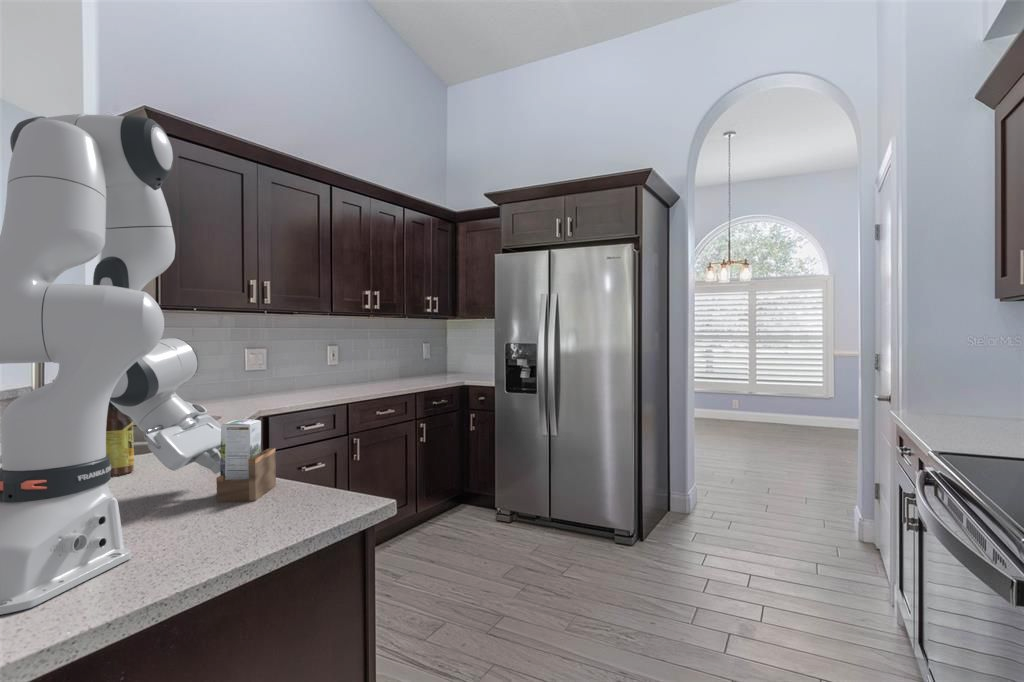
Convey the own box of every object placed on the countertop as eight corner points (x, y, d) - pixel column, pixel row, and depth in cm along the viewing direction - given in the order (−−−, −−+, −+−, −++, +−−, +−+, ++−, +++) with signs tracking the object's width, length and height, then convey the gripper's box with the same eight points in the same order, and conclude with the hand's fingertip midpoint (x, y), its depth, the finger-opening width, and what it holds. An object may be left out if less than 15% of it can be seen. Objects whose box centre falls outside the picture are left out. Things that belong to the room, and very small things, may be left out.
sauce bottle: (136, 473, 126) (134, 389, 126) (103, 478, 121) (101, 391, 121) (131, 468, 130) (130, 388, 130) (99, 473, 126) (98, 390, 126)
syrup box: (232, 489, 110) (231, 419, 110) (261, 488, 111) (261, 418, 111) (219, 497, 104) (219, 423, 104) (250, 496, 105) (250, 423, 105)
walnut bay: (256, 500, 102) (255, 459, 102) (216, 502, 101) (215, 460, 101) (276, 485, 113) (275, 448, 113) (240, 487, 112) (239, 449, 112)
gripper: (151, 419, 96) (209, 471, 97) (206, 404, 116) (253, 448, 117) (125, 444, 95) (183, 496, 96) (185, 425, 116) (232, 468, 117)
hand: (222, 469), depth 107 cm, fingers closed, pressing on syrup box
